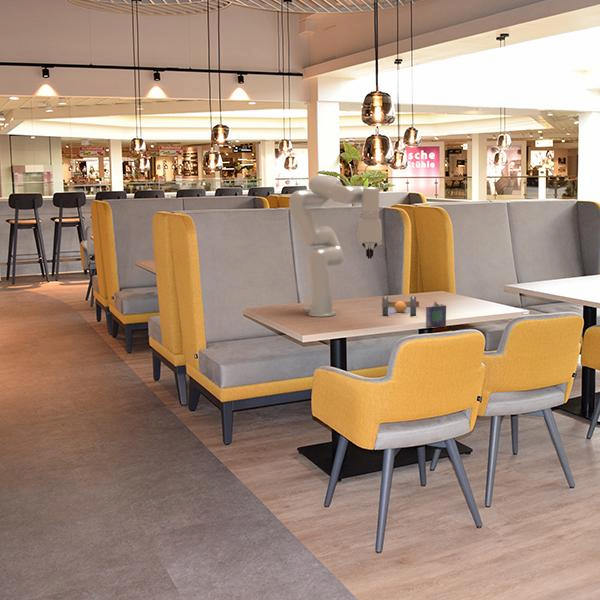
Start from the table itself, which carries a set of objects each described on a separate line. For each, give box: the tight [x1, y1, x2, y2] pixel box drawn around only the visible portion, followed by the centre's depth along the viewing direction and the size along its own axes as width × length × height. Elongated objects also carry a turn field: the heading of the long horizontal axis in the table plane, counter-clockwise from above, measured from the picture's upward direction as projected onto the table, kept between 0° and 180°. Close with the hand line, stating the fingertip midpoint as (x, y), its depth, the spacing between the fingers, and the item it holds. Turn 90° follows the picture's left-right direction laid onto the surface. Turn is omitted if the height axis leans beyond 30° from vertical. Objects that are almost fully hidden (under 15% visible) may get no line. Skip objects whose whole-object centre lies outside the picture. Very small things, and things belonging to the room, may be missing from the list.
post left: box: [381, 295, 389, 317], centre depth 364 cm, size 3×3×9 cm
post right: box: [409, 296, 417, 317], centre depth 362 cm, size 3×3×9 cm
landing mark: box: [388, 307, 410, 313], centre depth 377 cm, size 14×14×1 cm
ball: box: [393, 300, 407, 313], centre depth 372 cm, size 6×6×6 cm
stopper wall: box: [388, 300, 420, 308], centre depth 390 cm, size 18×2×2 cm, turn 82°
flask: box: [425, 300, 447, 328], centre depth 336 cm, size 9×3×11 cm, turn 109°
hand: (369, 258), depth 344 cm, fingers closed
